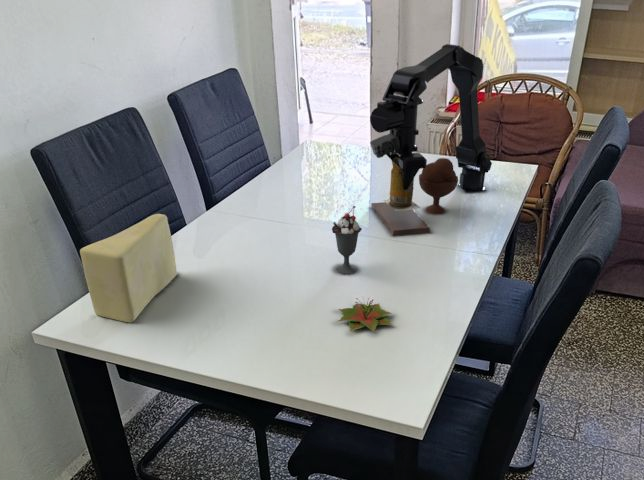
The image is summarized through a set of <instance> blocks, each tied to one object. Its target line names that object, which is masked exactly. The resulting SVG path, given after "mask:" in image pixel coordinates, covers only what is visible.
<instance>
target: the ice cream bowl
mask: <svg viewBox="0 0 644 480" xmlns="http://www.w3.org/2000/svg"><path fill="white" fill-rule="evenodd" d="M418 182H419V186H420V189H421V190H422V191H423V193H425V194H427V195H428V196H430V197H432V199H433V201H432V204H430V205H429V206H426V208H425V212H427V213H429V214H431V215H443V214H445V213H446V209H445V207H443V206H442V205H440V201H441V200H440V199H441V198H444V197H447V196H448V195H450V194H451V193H452V192H454V191H455V189H456V188H457V186H458V184H459V177H458V175H457V174H456V171H455V170H454V164H453V162H452V161H451V160H450V159H449V158H446V157H439V158H437V159H436V160H434V161H432V162H429V163H427V165H426V168H422V169H421V173H420V174H418Z"/></svg>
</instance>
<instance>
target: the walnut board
mask: <svg viewBox="0 0 644 480" xmlns="http://www.w3.org/2000/svg"><path fill="white" fill-rule="evenodd" d="M371 209H372V211H373V212H374V213H375V215H376V216H377V217H378V218H379V220H380V221H381V222H382V224H383V225H384V226H385V228H386V229H387V230H388V231H389V233H390V234H391V235H392V237H397V236H407V235H409V236H410V235H418V234H419V235H421V234H429V233H430V229H431V227H430V226H429V225H428V223H426V221H425V220H424V219H423V218H422V217H421V216H420V215H419V214H418V212H416V210H415V209H411V210H401V211H395V210H394V209H393V208H392V207H391V206H389V205H388V204H387V203H385V202H384V201H382V202H372V203H371Z"/></svg>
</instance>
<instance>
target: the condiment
mask: <svg viewBox="0 0 644 480" xmlns="http://www.w3.org/2000/svg"><path fill="white" fill-rule="evenodd" d="M397 164H399V157H396V158H394V160H393V165H392V168H391V171H390V183H389V184H390V185H389V199H383V201H382V202H385V203H387V204H388V205H389V206H391V207H392V208H393V209H394V210H395V211H401V210H411V209H413V210H417V209H421V206H420V205H418V204H417V203H415V202H414V201H413V194H414V185H415V183H414V181H415V178H414V179H413V181H412V182H411V184H410V186H409V188H408V189H407V190H404V189H403V181H402V170H401V169H400V168H399V167H398V166H397Z"/></svg>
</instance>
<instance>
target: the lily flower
mask: <svg viewBox="0 0 644 480" xmlns="http://www.w3.org/2000/svg"><path fill="white" fill-rule="evenodd" d="M361 297H364V296H363V295H362V296H361ZM355 299H356V300H357V301H354V303H355V304H354V305H353V306H352V307H346V308H344V307H343V308H337V310H338V311H339V312H340V313H341V314H343V315H342V316H341V317H340V319H339V320H338V322H348V327H349V332H353V331H355V330H358V329H362V328H368V329H369V330H371V331H372V332H373V333H375V331H376V329H377V326H384V325H385V326H389V325H390V326H394V324H393V323H392V322H391V321H390V319H389V318H387V317H385V316H388V315H392V314H393V313H392V312H390V311H388V310H387V311H386V310H385V309H383V308H381V305H380V303H374V302H373V301H374V299H371V300H370V298H367V303H366V304H365V303H363V302H361V300H359V299H358V297H355ZM362 299H363V301H365V298H362ZM369 300H370V301H369ZM368 302H369V303H368ZM373 303H374V304H373Z"/></svg>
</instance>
